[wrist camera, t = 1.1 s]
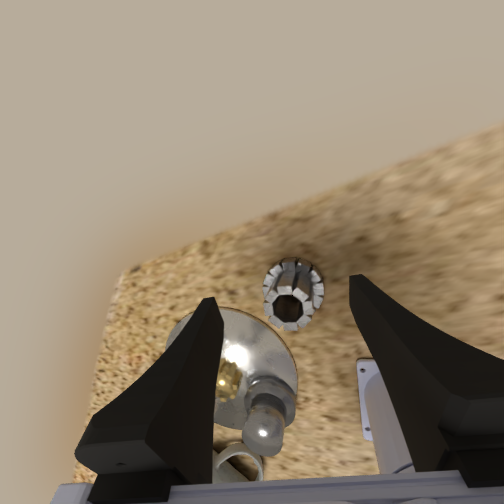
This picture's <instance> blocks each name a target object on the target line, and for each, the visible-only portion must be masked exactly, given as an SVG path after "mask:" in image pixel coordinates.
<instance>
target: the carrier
mask: <svg viewBox="0 0 504 504" xmlns="http://www.w3.org/2000/svg"><path fill="white" fill-rule="evenodd" d="M218 308H219V310H220V313H221V316H222V318H223V321H224V340H223V347H222V353H221V359H220V365H219V371H218V377H217V383H216V393H215V408H214V423H216V424H219V425H222V426H225V427H228V428H232V429H238V430H242V439H243V442H244V443H245V445H246V446H247V447H248V448H249V449H250V450H251V451H253V452H254V453H256V454H258V455H261V456H267V457H268V456H274V455H276V454H278V453H279V452H280V451H281V448H282V442H283V435H284V428H285V427H287V426H289V425H290V424H291V423H292V422H293V420H294V417H295V410H296V393H297V382H298V379H297V370H296V366H295V362H294V360H293V357H292V355H291V353H290V351H289V349H288V347H287V346H286V345H285V343H284V342H283V340H282V339H281V338H280V337H279V336H278V335H277V333H276V332H275V331H273V330H272V329H271V328H270V327H269V326H268V325H266V324H265V323H264V322H262V321H261V320H259V319H257V318H256V317H254V316H252V315H250V314H247V313H245V312H242V311H239V310H236V309H232V308H225V307H218ZM193 313H194V312H192V313H190V314H189V315H187V316H186V317H184V318H183V319H182V320H181V321H180V322H179V323H178V324H177V325H176V326H175V327H174V328H173V330H172V331H171V333H170V335H169V337H168V340H167V343H166V348H165V351H166V350H167V348H168V347H169V346H170V345H171V344H172V342H173V341H174V340H175V338H176V337H177V336H178V335H179V333H180V332H181V331H182V329H183V328H184V326H185V325H186V323H187V322H188V321H189V319H190V318H191V316H192V315H193Z"/></svg>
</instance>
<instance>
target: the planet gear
mask: <svg viewBox="0 0 504 504" xmlns="http://www.w3.org/2000/svg"><path fill="white" fill-rule="evenodd" d="M310 265H311V262H308V261H306V260H304V259H301V258H299V261H298V263H297V262H296V257H294V258H284V260H283V262H282V260H280V261H278V262H277V263H276V264H274V265H273V266H272V267H271V269H270V270H269V271H268V273H267V275H266V277H265V280H264V282H263V284H264V285H263V293H264V299H265V301H264V303H263V305H264V311H265V316H270V317H269V319H268V321H270V322H271V323H272V324H274V325H275V326H276V327H277V328H280V327H281V326H282V325H283V326H284V331H285V330H298V326H300V327H302V328H304V327H305V326H306V325H307V324H308V322H309V321H310V320H311V319H312V314H313V312H315V311H316V308H319V306H320V304H321V302H322V300H323V295H324V286H323V278H321V273H320V272H319V271H318V270H317V268H316V267H315V266H314V265H313V266H311V267H310ZM288 294H292V295H293V296H290V295H288Z"/></svg>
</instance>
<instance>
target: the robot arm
mask: <svg viewBox="0 0 504 504" xmlns="http://www.w3.org/2000/svg"><path fill="white" fill-rule="evenodd" d="M349 305H350V308H351V311H352V314H353V316H354V319H355V322H356V324H357V326H358V328H359V330H360V332H361V334H362V336H363V338H364V340H365V342H366V344H367V346H368V348H369V350H370V352H371V354H372V356H373V358H374V359H359V360H358V361H357V362H356V366H357V377H358V388H359V399H360V410H361V421H362V432H363V437H364V438H365V439H366V440H369V441H373V443H374V448H375V452H376V457H377V462H378V467H379V472H380V474H378V475H360V476H342V477H324V478H306V479H288V480H270V481H252V482H234V483H216V484H213V482H212V475H213V427H214V408H215V393H216V383H217V377H218V371H219V365H220V359H221V353H222V347H223V340H224V321H223V318H222V316H221V313H220V310H219V308H218V305H217V303H216V300H215V298H214V297H209V298H203V300H202V301H201V303H200V304H199V306H198V307H197V309H196V310H195V312H194V313H193V315H192V316H191V318H190V319H189V321H188V322H187V323H186V325H185V326H184V328H183V329H182V331H181V332H180V333H179V335H178V336H177V337H176V338H175V340H174V341H173V342H172V344H171V345H170V346H169V347H168V348H167V350H166V351H165V352H164V353H163V354H162V355H161V356H160V358H159V359H158V360H157V361H156V362H155V363H154V364H153V365H152V366H151V367H150V368H149V369H148V370H147V371H146V372H145V373H144V374H143V375H142V376H141V377H140V378H139V379H138V380H136V381H135V382H134V383H133V384H132V385H131V386H130V387H129V388H127V389H126V390H125V391H124V392H123V393H121V394H120V395H119V396H118V397H117V398H115V399H114V400H113V401H111V402H110V403H109V404H108V405H106V406H105V407H104V408H102V409H101V410H100V411H98V412H97V413H96V414H94V415H93V417H92V418H91V420H90V422H89V424H88V426H87V428H86V430H85V432H84V434H83V436H82V438H81V440H80V442H79V444H78V446H77V448H76V450H75V453H74V454H75V457H76V459H77V460H78V461H79V462H80V463H81V464H83V465H84V466H86V467H87V468H89V469H90V470H92V471H94V472H95V473H97V474H98V475H97V478H96V480H95V483H94V484H92V483H68V484H61V485H60V486H59V487H58V489H57V491H56V493H55V495H54V497H53V499H52V501H51V503H50V504H504V360H503V359H500V358H497V357H495V356H493V355H491V354H488V353H486V352H484V351H482V350H479V349H477V348H475V347H473V346H471V345H468V344H466V343H464V342H462V341H460V340H458V339H456V338H454V337H452V336H450V335H449V334H447V333H445V332H443V331H441V330H439V329H437V328H436V327H434V326H432V325H430V324H429V323H427V322H425V321H424V320H422V319H420V318H419V317H417V316H416V315H414V314H413V313H411V312H410V311H408V310H407V309H406V308H404V307H403V306H401V305H400V304H399V303H397V302H396V301H395V300H393V299H392V298H391V297H389V296H388V295H387V294H385V293H384V292H383V291H382V290H380V289H379V288H378V287H377V286H376V285H374V284H373V283H372V282H371V281H370V280H369V279H367V278H366V277H365V276H364V275H362V274H359V275H352V276H349ZM361 368H364V370H361ZM366 427H369V428H366Z"/></svg>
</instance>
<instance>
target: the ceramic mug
mask: <svg viewBox="0 0 504 504" xmlns="http://www.w3.org/2000/svg"><path fill="white" fill-rule="evenodd" d="M238 454H239V455H242V454H244V455H249V456H250V457H251V458H253V460H254V463H255V464H256V465H257V467H258V471H259V473H258V476H257V478H256V480H255V481H263V464H262V460H261V457H260V455H258V454H256V453H254V452H253V451H251V450H250V449H249V448H248V447H247V446H246V445H245V443H235V444H232V445H230V446H228V447H227V448H226V449H224V450H223V451H222V452H221V453H220V454H218V453H217V452H216V451H214V450H213V475H212V482H213V484H216V483H234V482H249V480H248V479H247V478H246V477H245V476H243V475H242V474H241V473H240V472H238V471H237V470H236V469H235V468H234V467H233V466H232V465H230V464H229V463H228V462H227V461H226V459H228V458H229V457H231V456H234V455H238Z"/></svg>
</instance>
